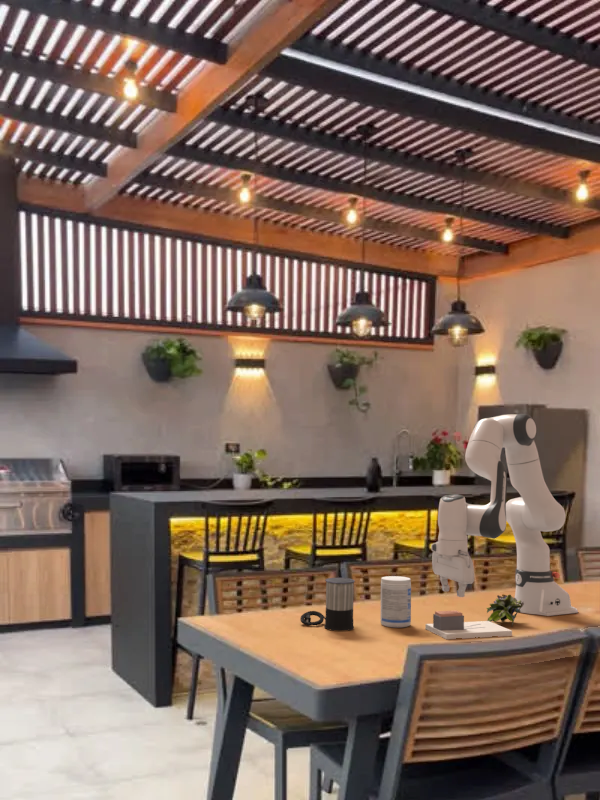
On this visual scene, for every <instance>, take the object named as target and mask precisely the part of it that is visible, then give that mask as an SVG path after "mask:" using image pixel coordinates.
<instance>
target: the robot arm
mask: <svg viewBox="0 0 600 800" xmlns="http://www.w3.org/2000/svg"><path fill="white" fill-rule="evenodd" d="M537 428H538V427H537V424H536V421H535V419H534V418H533V417H532V416H531V415H530V414H527V413H517V414H514V413H513V414H510V413H509V414H501V415H496V416H493V417H492V416H491V417H485V418H481V419H479V420H478V421H476V423H475V424H474V426H473V429H472V432H471V434H470V437H469V440H468V443H467V446H466V449H465V456H464V459H465V462H466V463H465V464H466V465H467V467H468V468H469V470H471V471H472V473H475V474H476V475H478V476H479V477H483V479H487V481H490V484H491V485H490V486H491V487H490V500H489V501H490V502H488V503H487V504H471V503H468V502H466V498H465V496H464V495H463V494H460V493H459V494H457V493H454V494H453V493H452V494H446V495H443V496H442V497H441V498H440V499H439V504H438V510H437V511H438V514H437V515H438V516H437V525H438V530H439V532H438V537H437V541H436V542H433V543H432V544H431V545H430V546H431V547H430V549H431V551H432V553H431V555H432V556H431V560H432V561H431V566H432V571H433V573H434V575H436V576H437V575H438V576H439V580H440V583H441V591H443V592H450V585H449V582H448V579H449V580H451V581H455V582H457V585H458V590H456V596H457V597H458V598H464V597H465V596H466V595H465V591H466V589H467V585H469V584H470V585H471V584H473V583H474V582H475V567H474V562H473V560H472V557H471V556H470V554H469V552H468V550H469V549H468V536H473V537H483V538H489V539H497V538H499V537H500V536H501V535H502V534H503V533H504V532H505V531H506V529H507V523H508V525H509V527H510V529H511V530H512V534H513V537H514V540H515V546H516V568H515V591H514V592H515V593H514V598H516V599H517V601H519V600H521V603H522V602H523V603H524V605H523V607H521V609H520V613H523V614H528V615H529V614H530V615H537V616H544V617H546V616H547V617H550V616H551V617H552V616H558V615H559V616H560V615H568V614H578V612H579V611H578V608H577V607H574V606H572V602H571V596H570V594H569V592H567V591H566V590H565V589H564V588H563V587H562V586H560V585H559V584H558V583H557V582H555V579H554V578H556V579H559V578H560V576H561V574H560V573H559V572H558V571H553V570H551V569H550V563H551V561H550V560H551V558H550V557H551V556H550V554H551V551H550V547H549V545H548V544H547V543H546V541H545V540H544V538H543V536H542V533H541V532H547V533H548V532H555V531H559V530H560V529H561V528H562V527H563V526H564V525H565V521H566V517H567V516H566V511H565V509H564V507H563V506H562V505H561V504H560V503H559V502H558V500H556V499H555V498H554V496H553V495H552V493H551V491H550V489H549V487H548V485H547V484H546V482H545V479H544V473H543V470H542V466H541V460H540V457H539V456H540V455H539V452H538V448H537V445H536V442H535V439H536V436H537V433H538V432H537V431H538V430H537ZM503 448H504V451H505V458H506V465H507V467H506V465H505V463H504V462H503V461H501V456H502V455H501V454H502V450H503ZM507 469H508V472H507ZM508 475H509V480H510V484H511V485H512V487H513V488H514V489H515V490H516V491H517V492H518V494H519V495H520V496H519V497H515V498H511V499H509V500H508V501H507V494H508V493H507V490H508ZM517 604H518V603H517ZM519 605H521V604H519ZM518 609H519V608H518Z"/></svg>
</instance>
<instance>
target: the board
mask: <svg viewBox="0 0 600 800" xmlns="http://www.w3.org/2000/svg"><path fill="white" fill-rule="evenodd" d="M424 629H425V630H426V631H428V632H431V633H432V634H435V635H437V636H439V637H441V638H443V639H444V640H457V639H456V638H462V639H477V638H478V637H480V638H493V637H492V636H498V637H511V636H513V630H511V629H509V628H507V627H504V626H501V625H499V624H497V623H496V622H493V621H491V622H490V621H487V620H482V621H481V620H477V621H464V629H460V630H441V631H440V630H438V629H436V628H434V627H433V623H425V627H424ZM475 637H476V638H475ZM478 639H479V638H478Z"/></svg>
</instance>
